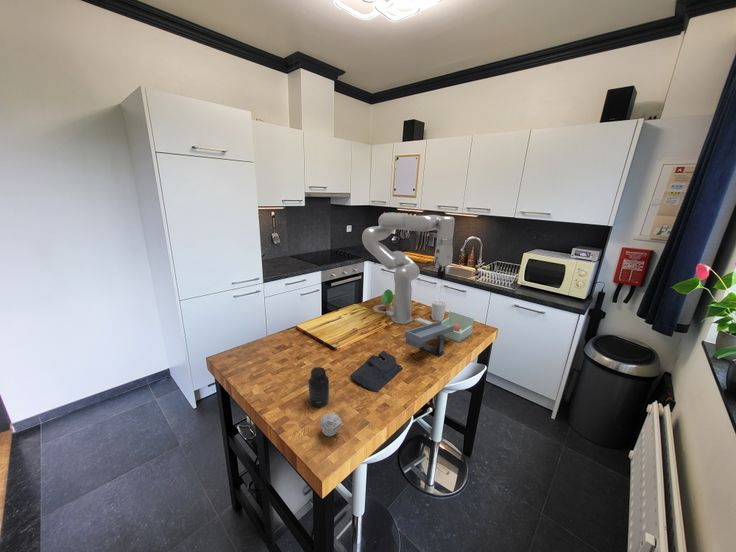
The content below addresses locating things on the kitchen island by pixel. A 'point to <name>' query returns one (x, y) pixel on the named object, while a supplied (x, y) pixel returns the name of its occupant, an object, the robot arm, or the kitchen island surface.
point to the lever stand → (433, 350)
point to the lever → (426, 332)
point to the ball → (456, 327)
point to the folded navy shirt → (377, 371)
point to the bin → (464, 323)
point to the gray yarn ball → (330, 424)
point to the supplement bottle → (318, 387)
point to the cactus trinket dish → (386, 302)
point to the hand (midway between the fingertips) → (440, 278)
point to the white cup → (438, 310)
